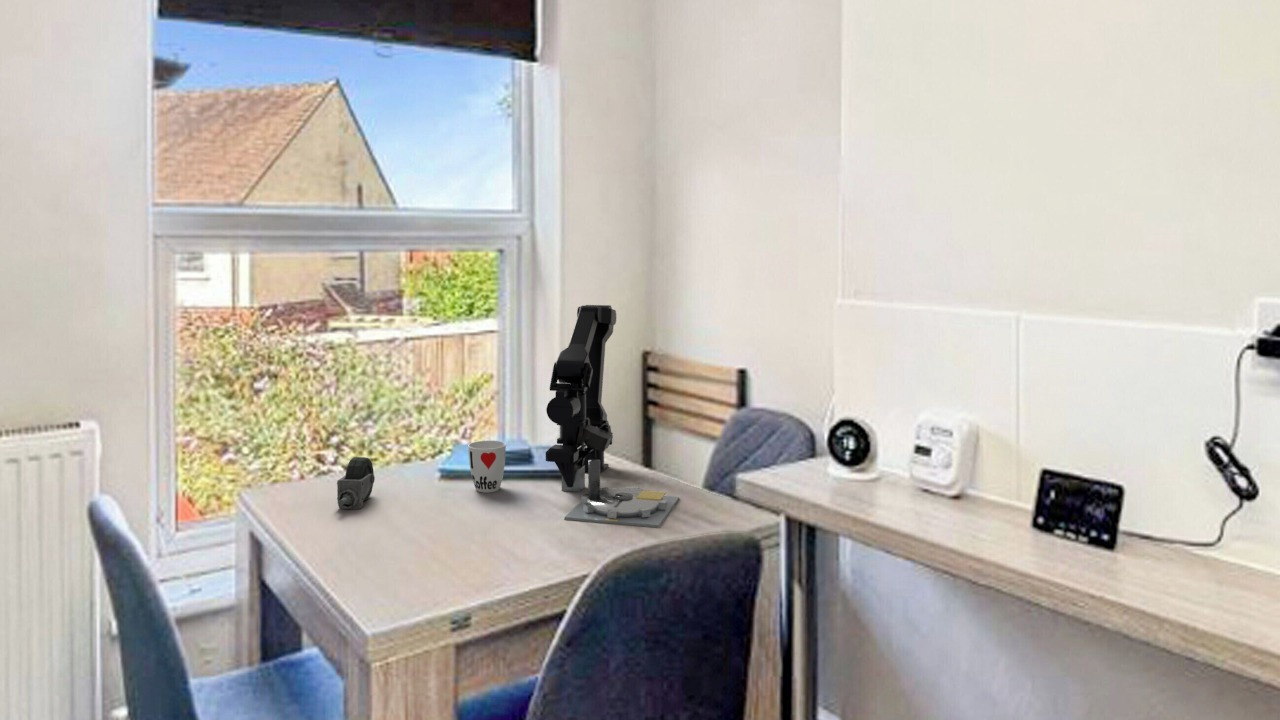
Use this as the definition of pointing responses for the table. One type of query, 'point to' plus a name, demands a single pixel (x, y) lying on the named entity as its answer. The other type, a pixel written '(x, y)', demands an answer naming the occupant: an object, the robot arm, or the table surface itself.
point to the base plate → (650, 521)
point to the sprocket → (619, 497)
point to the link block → (576, 480)
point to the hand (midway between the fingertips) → (573, 484)
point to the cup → (487, 464)
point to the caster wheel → (355, 484)
